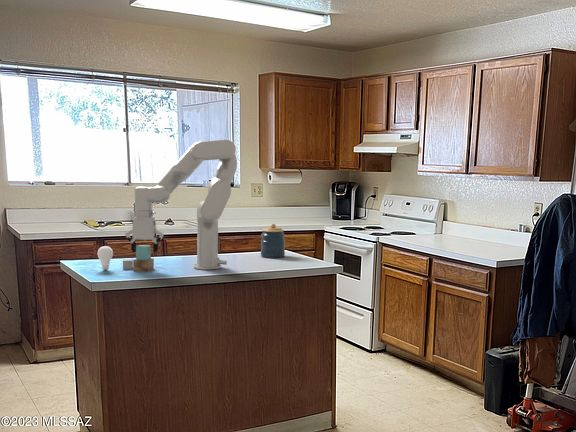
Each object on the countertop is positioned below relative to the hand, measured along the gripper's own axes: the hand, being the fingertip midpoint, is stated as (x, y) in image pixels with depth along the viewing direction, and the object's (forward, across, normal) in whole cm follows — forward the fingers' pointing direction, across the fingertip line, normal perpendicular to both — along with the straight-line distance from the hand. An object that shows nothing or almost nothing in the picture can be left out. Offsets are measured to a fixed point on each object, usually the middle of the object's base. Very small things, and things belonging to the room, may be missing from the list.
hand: (144, 252), depth 237 cm
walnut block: (+8, +1, 0) cm, 8 cm away
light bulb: (+8, +16, +5) cm, 19 cm away
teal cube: (+3, +1, 0) cm, 3 cm away
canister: (+10, -53, -48) cm, 72 cm away
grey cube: (+8, +9, -2) cm, 12 cm away
